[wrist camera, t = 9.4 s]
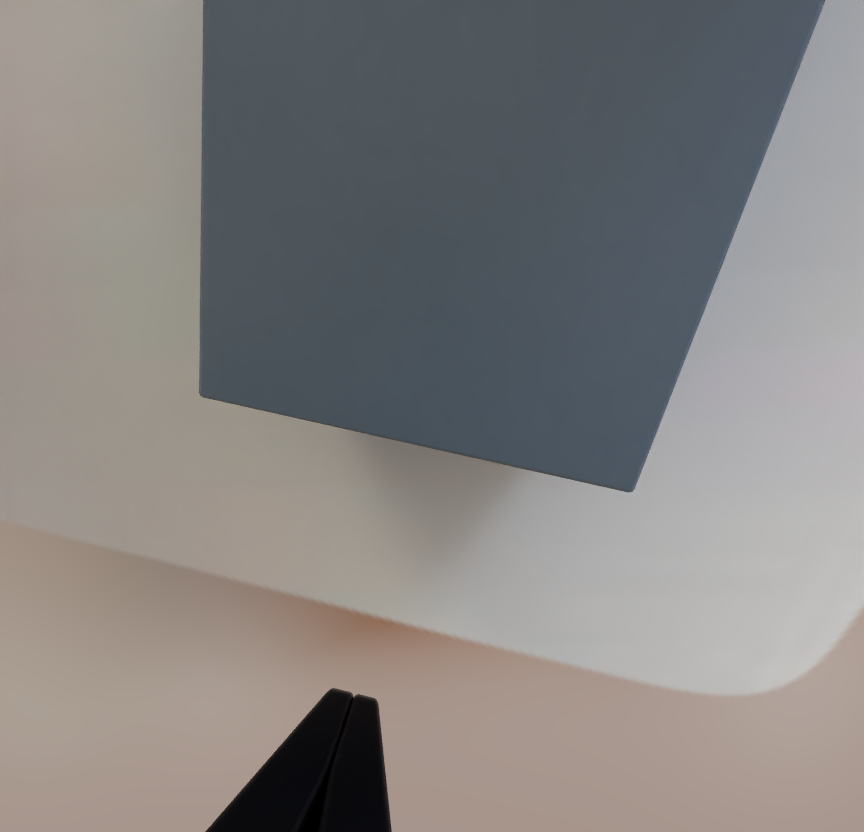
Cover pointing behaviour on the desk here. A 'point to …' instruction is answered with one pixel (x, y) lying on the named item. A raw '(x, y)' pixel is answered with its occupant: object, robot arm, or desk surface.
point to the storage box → (478, 211)
